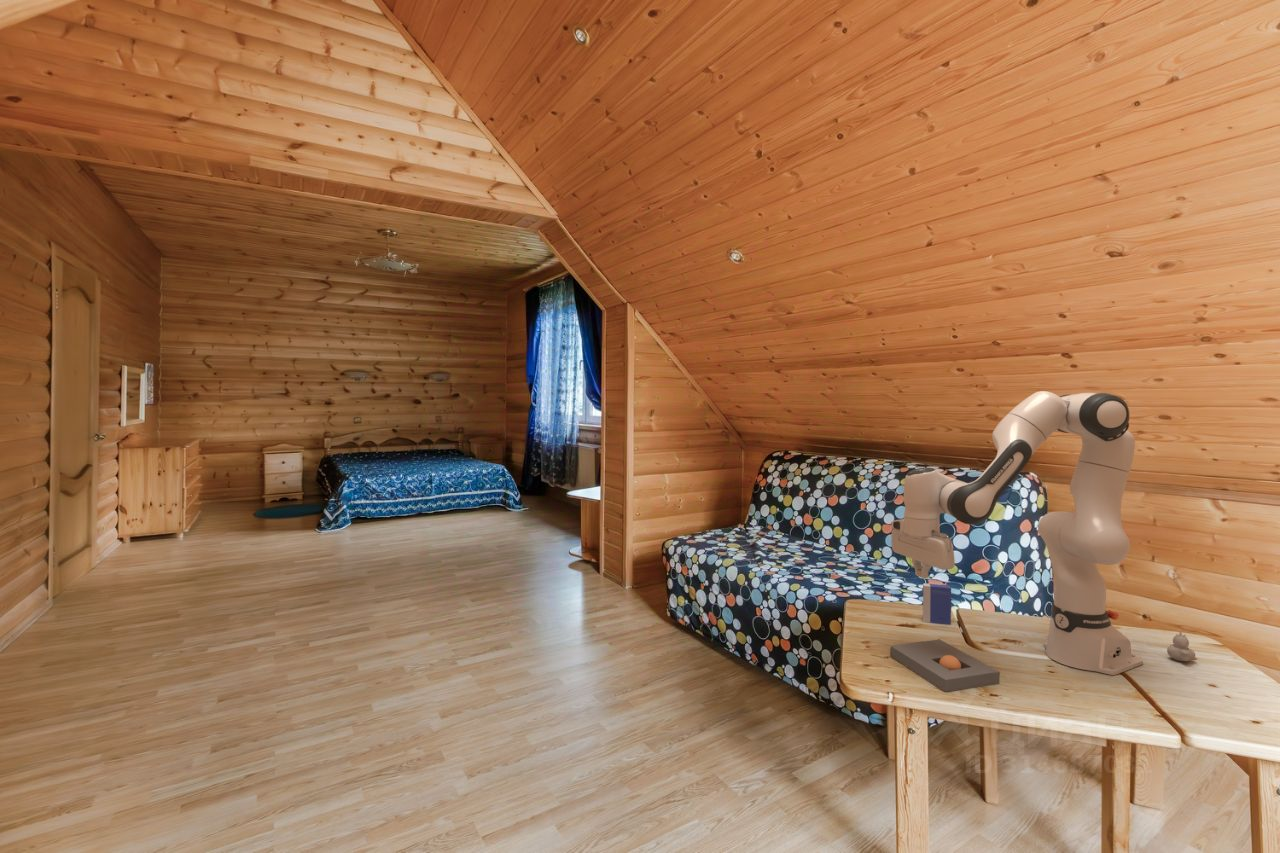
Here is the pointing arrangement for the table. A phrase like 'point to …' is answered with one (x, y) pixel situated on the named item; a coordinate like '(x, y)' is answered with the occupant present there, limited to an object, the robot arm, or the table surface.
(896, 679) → the table surface
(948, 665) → the ball
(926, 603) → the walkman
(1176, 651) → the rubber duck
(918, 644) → the pocket board
